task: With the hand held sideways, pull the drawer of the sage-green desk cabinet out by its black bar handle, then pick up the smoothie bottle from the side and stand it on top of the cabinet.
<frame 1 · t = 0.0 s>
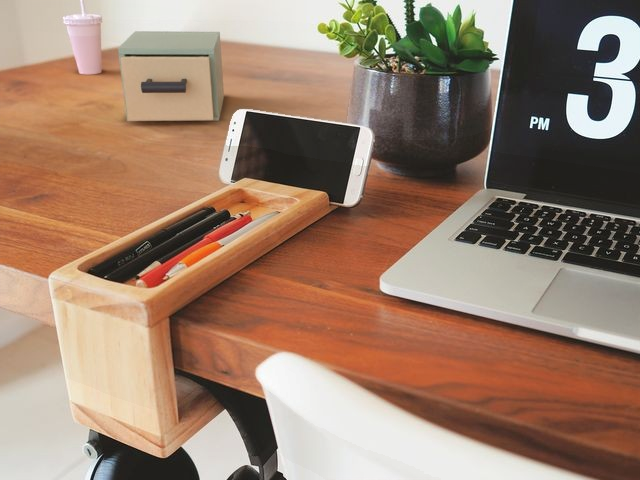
cabinet: (178, 109, 108), on the table
drawer: (171, 82, 101), point 5 cm above the table, slide at 1.0 cm
smoothie: (90, 74, 128), on the table
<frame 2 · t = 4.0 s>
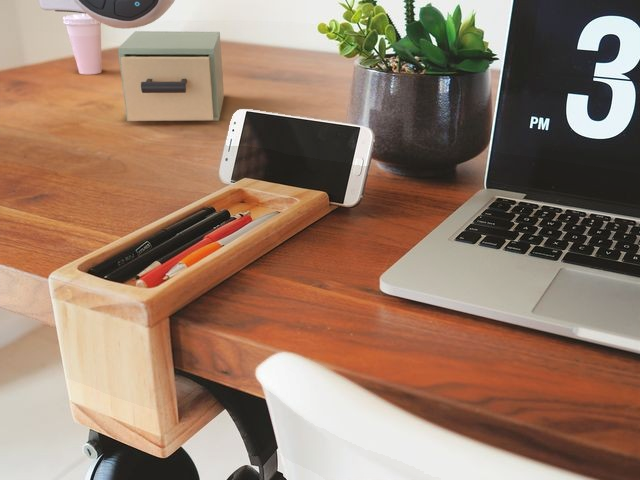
nothing on the table moved.
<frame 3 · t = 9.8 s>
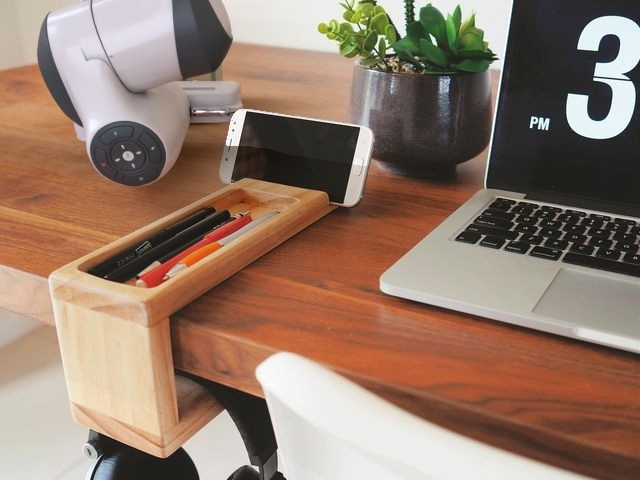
hand: (165, 86, 95), 6 cm above the table, tool horizontal, fingers closed on drawer, 5 cm apart
drawer: (171, 82, 101), point 5 cm above the table, slide at 1.0 cm, touching gripper
everything else where it was.
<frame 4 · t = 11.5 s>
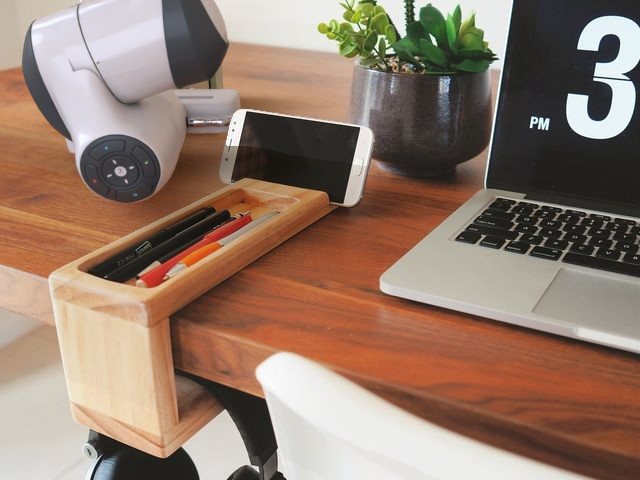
hand: (160, 94, 91), 6 cm above the table, tool horizontal, fingers closed on drawer, 5 cm apart
drawer: (168, 89, 97), point 5 cm above the table, slide at 5.5 cm, touching gripper
everything else where it was.
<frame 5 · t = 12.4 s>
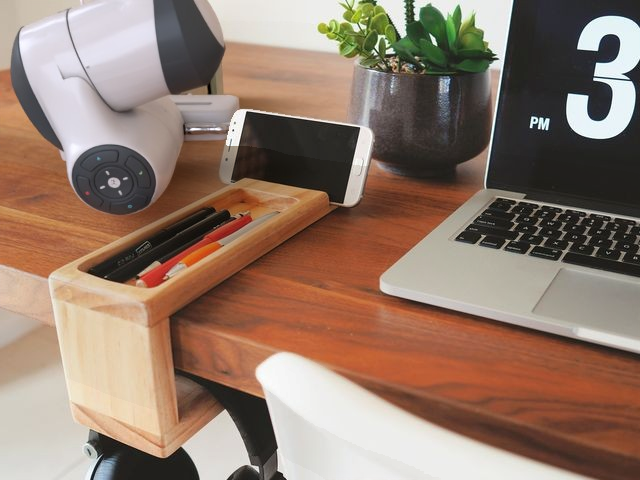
hand: (157, 99, 88), 6 cm above the table, tool horizontal, fingers closed on drawer, 5 cm apart
drawer: (165, 95, 94), point 5 cm above the table, slide at 8.4 cm, touching gripper
everything else where it was.
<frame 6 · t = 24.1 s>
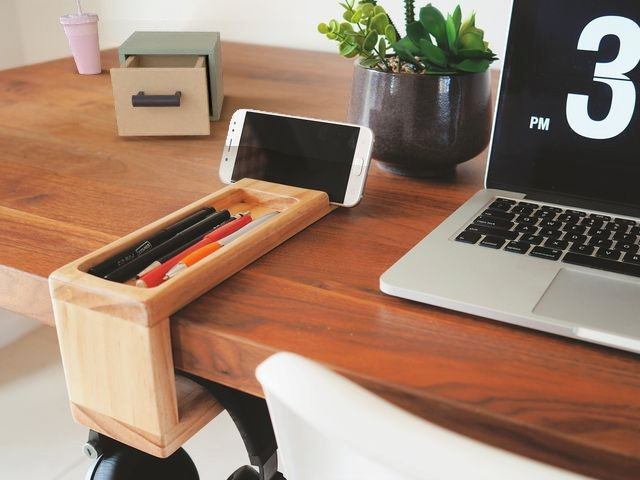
drawer: (165, 94, 95), point 5 cm above the table, slide at 8.3 cm
everything else where it was.
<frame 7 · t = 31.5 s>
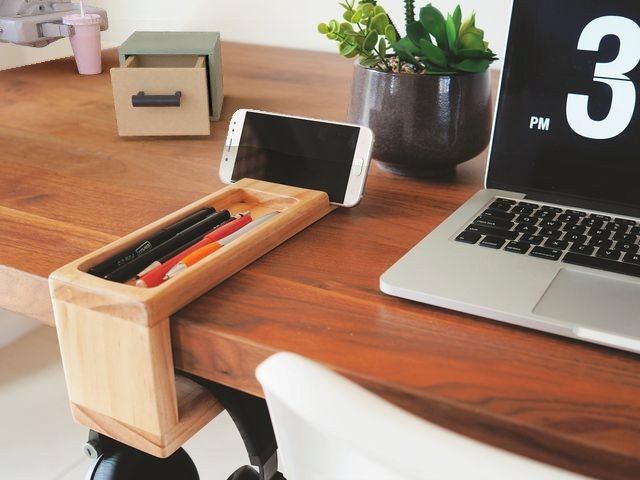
hand: (88, 28, 125), 8 cm above the table, tool horizontal, fingers closed on smoothie, 6 cm apart
smoothie: (90, 74, 128), on the table, touching gripper
everything else where it was.
when the fingers open (18 cm above the table, at t = 40.1 s): smoothie stays where it is, resting on cabinet.
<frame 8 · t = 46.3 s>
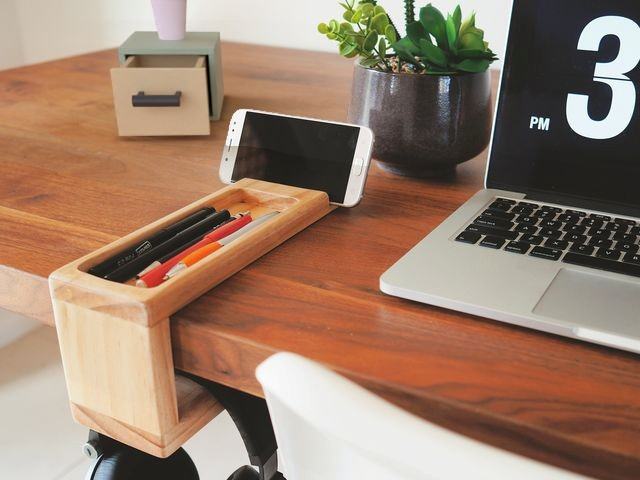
smoothie: (172, 39, 104), point 10 cm above the table, touching cabinet
everything else where it was.
at the end: drawer slide at 8.3 cm; smoothie inside the target area on the cabinet (1.0 cm from its centre), point 9.9 cm above the cabinet's base; smoothie tilted 0° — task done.
